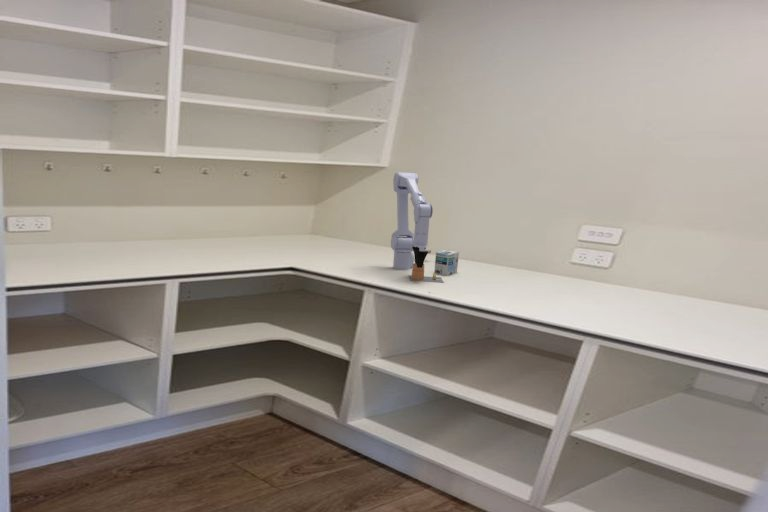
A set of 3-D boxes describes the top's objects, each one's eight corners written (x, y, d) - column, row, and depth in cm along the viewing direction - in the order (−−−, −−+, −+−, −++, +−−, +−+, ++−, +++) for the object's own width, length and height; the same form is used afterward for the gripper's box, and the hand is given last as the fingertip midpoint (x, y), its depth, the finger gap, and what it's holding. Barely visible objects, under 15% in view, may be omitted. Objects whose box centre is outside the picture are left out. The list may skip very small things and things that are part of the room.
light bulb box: (447, 278, 228) (449, 254, 226) (433, 276, 231) (435, 252, 229) (457, 275, 236) (459, 251, 234) (443, 272, 240) (445, 249, 238)
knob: (412, 279, 216) (413, 264, 215) (411, 276, 220) (412, 262, 219) (423, 280, 216) (425, 265, 215) (422, 277, 221) (423, 263, 220)
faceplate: (409, 283, 213) (410, 275, 213) (408, 278, 223) (408, 270, 223) (443, 285, 214) (444, 277, 213) (440, 280, 224) (441, 272, 223)
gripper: (410, 230, 222) (407, 261, 224) (413, 235, 207) (410, 268, 210) (426, 231, 222) (424, 262, 224) (430, 236, 208) (428, 269, 210)
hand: (418, 265), depth 217 cm, fingers open, 7 cm apart
